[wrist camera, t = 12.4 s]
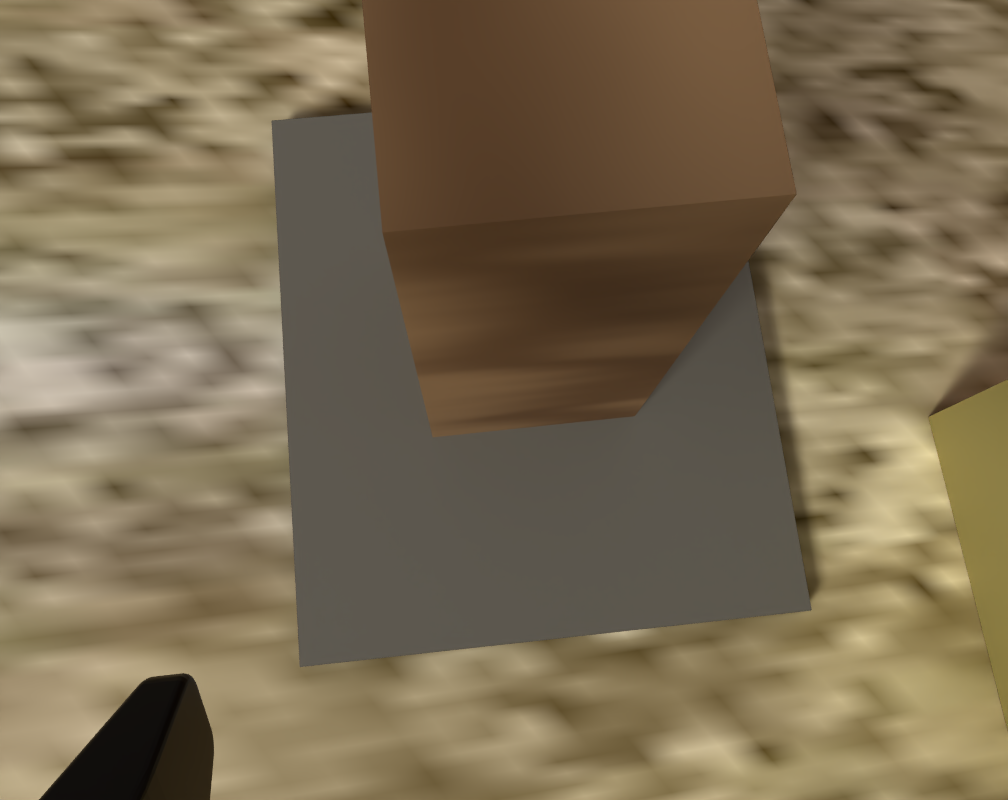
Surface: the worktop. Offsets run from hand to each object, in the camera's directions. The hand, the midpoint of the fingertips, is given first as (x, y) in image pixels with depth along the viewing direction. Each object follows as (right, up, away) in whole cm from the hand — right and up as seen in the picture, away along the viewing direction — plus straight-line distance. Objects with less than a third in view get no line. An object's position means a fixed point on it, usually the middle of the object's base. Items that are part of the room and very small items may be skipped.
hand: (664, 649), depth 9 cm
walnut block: (-1, +4, +14) cm, 15 cm away
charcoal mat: (-1, +3, +15) cm, 15 cm away
